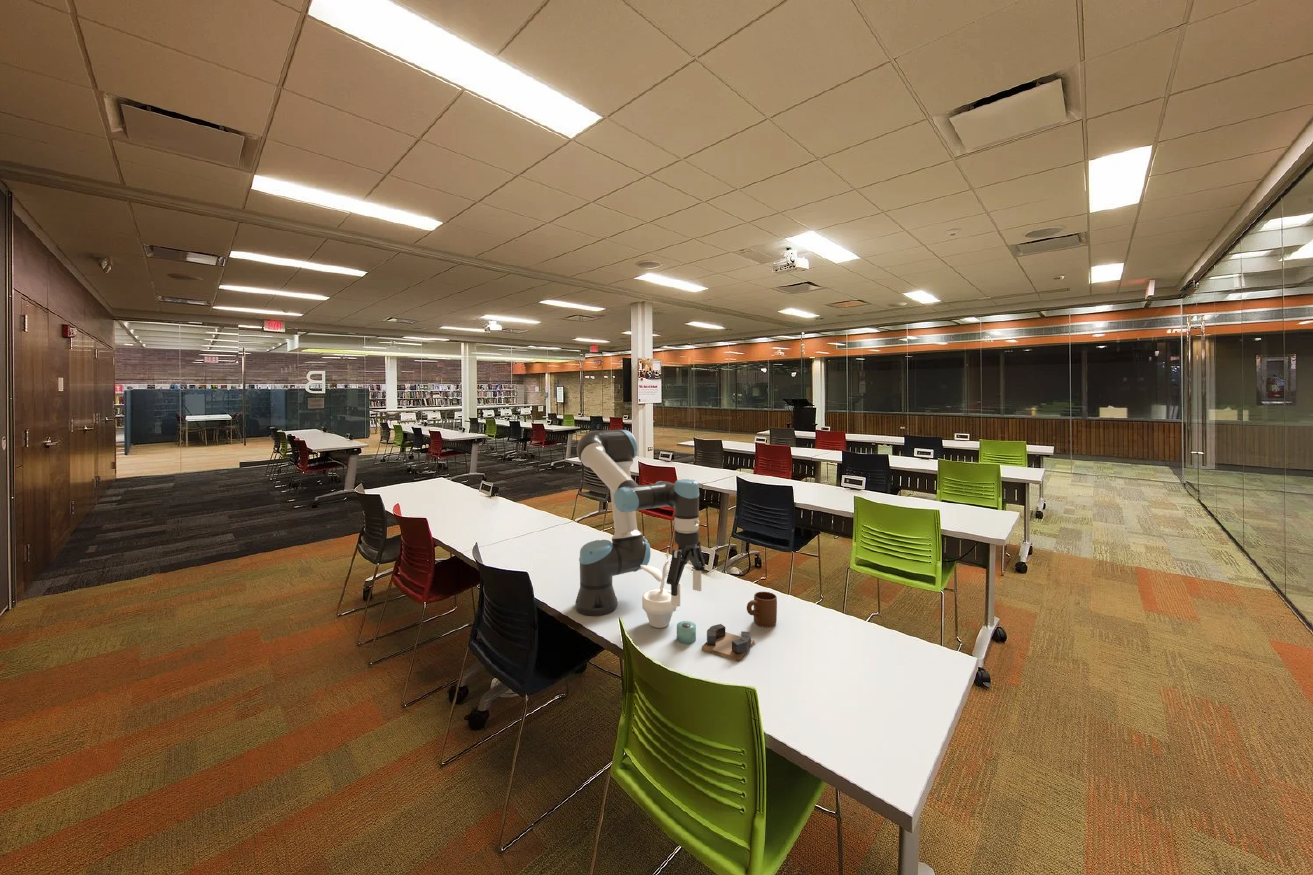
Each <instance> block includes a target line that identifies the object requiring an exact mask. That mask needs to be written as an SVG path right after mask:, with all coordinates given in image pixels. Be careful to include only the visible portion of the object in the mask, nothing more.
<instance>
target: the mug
mask: <svg viewBox="0 0 1313 875" xmlns="http://www.w3.org/2000/svg"><path fill="white" fill-rule="evenodd" d="M752 608H753V609H752ZM777 610H778V597H777V595H776V594H774V593H772V592H769V591H758V592H755V593H754V595H753V599H752V600H749V602H748V603H747V604H746V611H747V613H748V614H749V615H750V616H753V622H754V624H755V625H756V626H758V627H762V628H773V627H775V626H776V625H777V621H778V620H777V618H778V617H777V616H778V611H777Z"/></svg>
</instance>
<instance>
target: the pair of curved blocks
mask: <svg viewBox="0 0 1313 875" xmlns="http://www.w3.org/2000/svg"><path fill="white" fill-rule="evenodd" d="M725 632H726V626H725V625H723V624H722V623H719V624H715V625H714V624H713V625H711V626H710V627H709V628H708V629H707V630H706V642H707V646H716V640H717V639H718V638H721V637H725ZM740 636H741V638H740V639H737V640H733V641H732V651H733V652H734V653H735V654H737V655H738V654H741V653H745V652H747V651H748V652H749V651H750V649H751V648H752V647H751V640H752V636H751V632H750V631H744V630H743V631H741V632H740ZM750 647H751V648H750ZM749 648H750V649H749ZM748 652H747V653H748Z"/></svg>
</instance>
